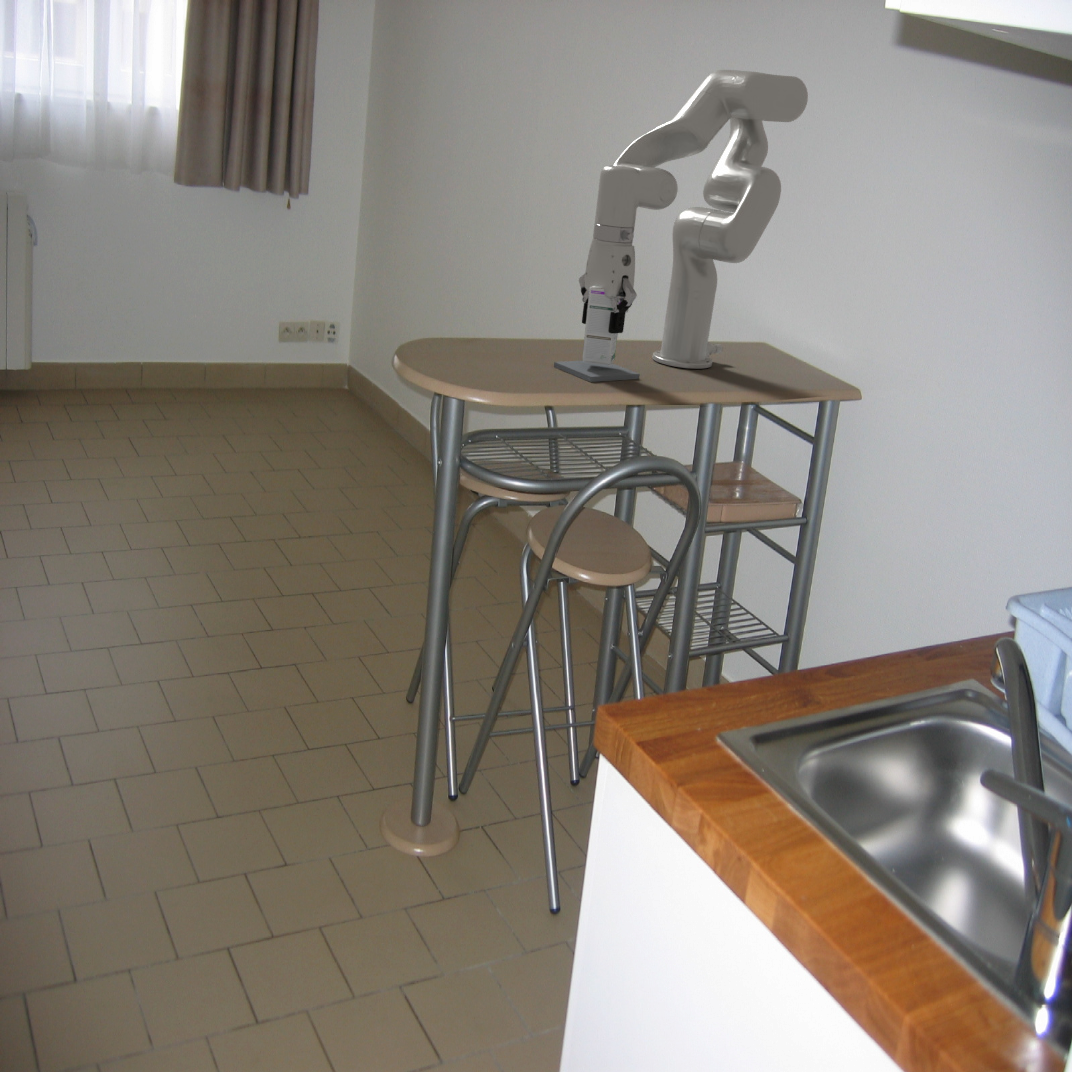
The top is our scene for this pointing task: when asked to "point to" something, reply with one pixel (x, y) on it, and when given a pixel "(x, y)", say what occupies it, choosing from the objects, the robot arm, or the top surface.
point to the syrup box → (599, 329)
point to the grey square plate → (596, 371)
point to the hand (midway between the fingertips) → (602, 327)
